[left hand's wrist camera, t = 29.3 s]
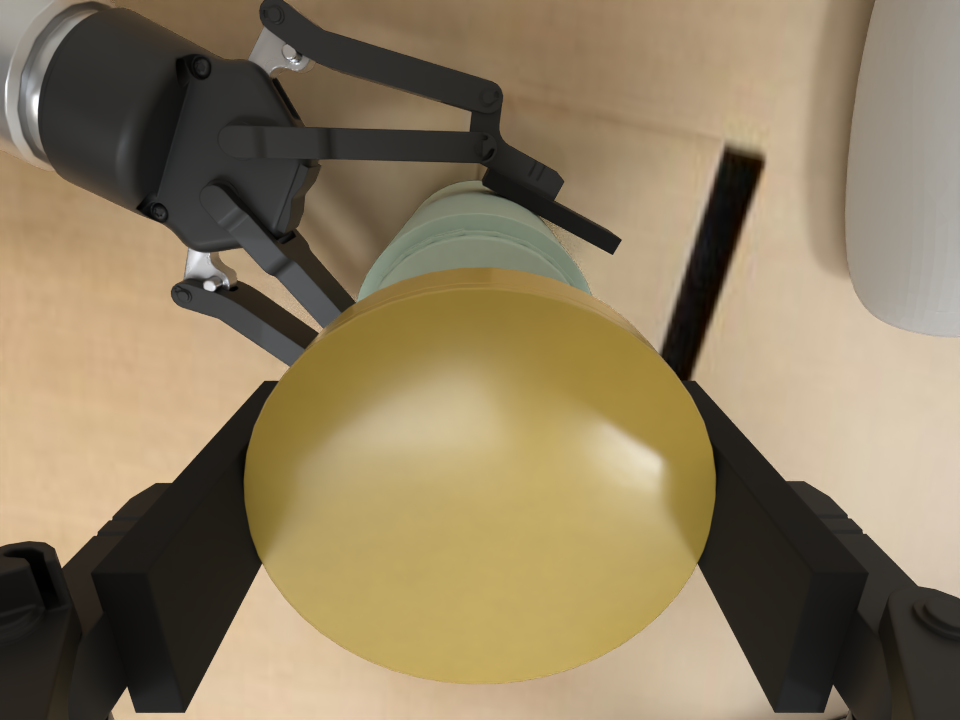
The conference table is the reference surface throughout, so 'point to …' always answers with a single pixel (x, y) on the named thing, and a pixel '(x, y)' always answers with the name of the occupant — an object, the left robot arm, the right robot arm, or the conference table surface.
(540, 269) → the jar
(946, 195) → the projector
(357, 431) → the lid
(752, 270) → the conference table surface
